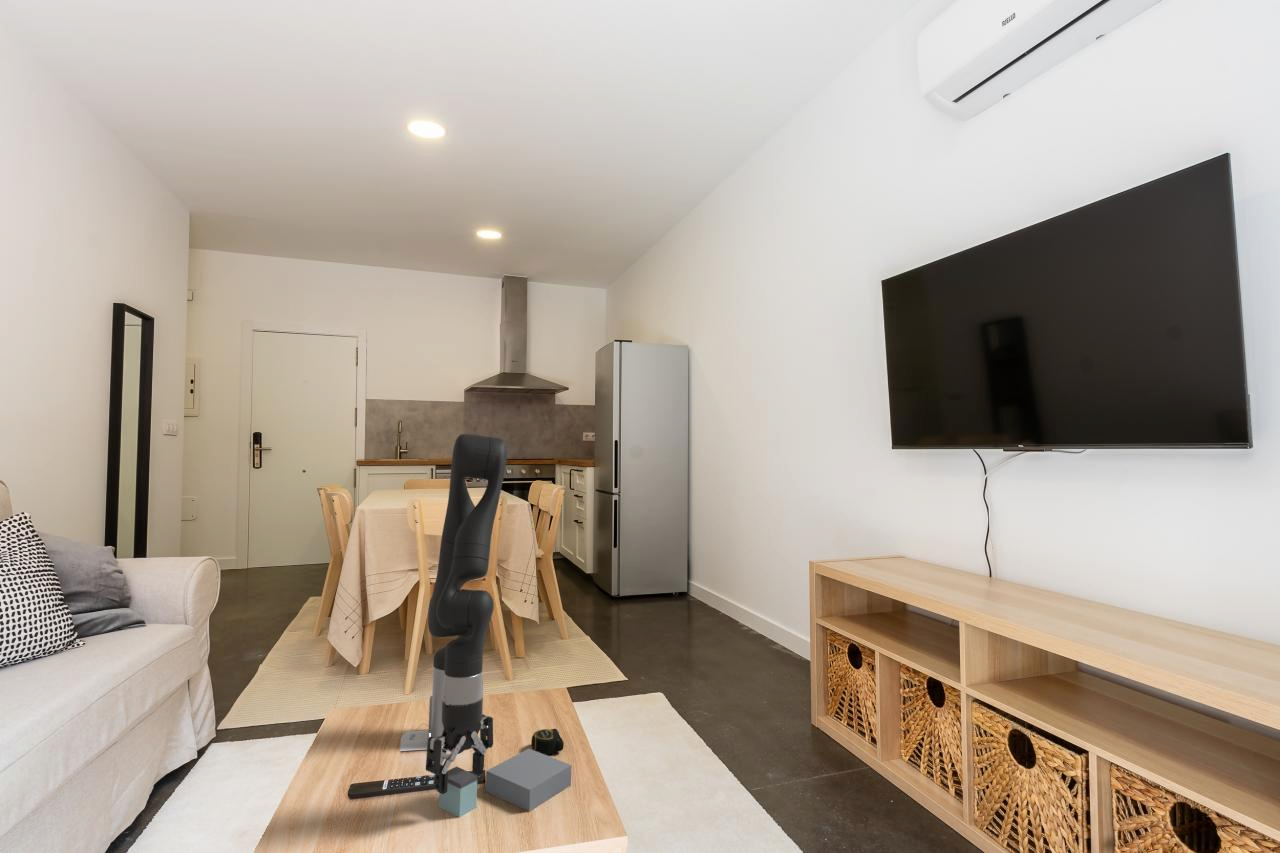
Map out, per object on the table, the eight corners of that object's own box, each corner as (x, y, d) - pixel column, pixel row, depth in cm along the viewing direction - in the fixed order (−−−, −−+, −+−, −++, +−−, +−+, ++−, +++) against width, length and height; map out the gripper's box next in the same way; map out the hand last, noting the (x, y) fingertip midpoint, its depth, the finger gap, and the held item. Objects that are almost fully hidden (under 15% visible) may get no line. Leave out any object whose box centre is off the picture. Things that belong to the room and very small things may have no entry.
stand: (485, 791, 126) (486, 770, 126) (528, 767, 136) (528, 748, 136) (529, 811, 119) (530, 789, 120) (570, 785, 129) (571, 765, 130)
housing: (438, 806, 120) (439, 774, 121) (455, 797, 124) (456, 766, 124) (459, 817, 117) (460, 784, 117) (476, 808, 120) (477, 775, 121)
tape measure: (564, 755, 142) (564, 738, 142) (533, 759, 140) (534, 742, 140) (558, 742, 149) (559, 726, 149) (529, 745, 147) (529, 729, 147)
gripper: (477, 681, 129) (475, 762, 128) (418, 702, 118) (415, 792, 117) (503, 689, 125) (501, 773, 124) (445, 712, 113) (442, 805, 113)
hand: (460, 782), depth 121 cm, fingers open, 8 cm apart
